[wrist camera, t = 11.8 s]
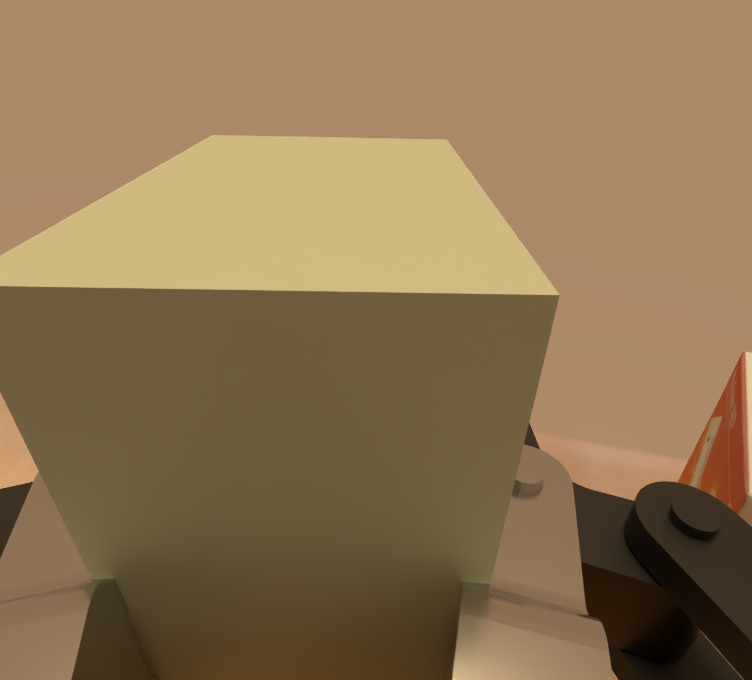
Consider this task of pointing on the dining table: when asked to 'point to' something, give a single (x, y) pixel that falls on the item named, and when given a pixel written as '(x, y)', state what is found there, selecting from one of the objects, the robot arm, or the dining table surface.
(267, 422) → the tall tan pillar block
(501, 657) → the robot arm
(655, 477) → the dining table surface
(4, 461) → the dining table surface
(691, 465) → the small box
